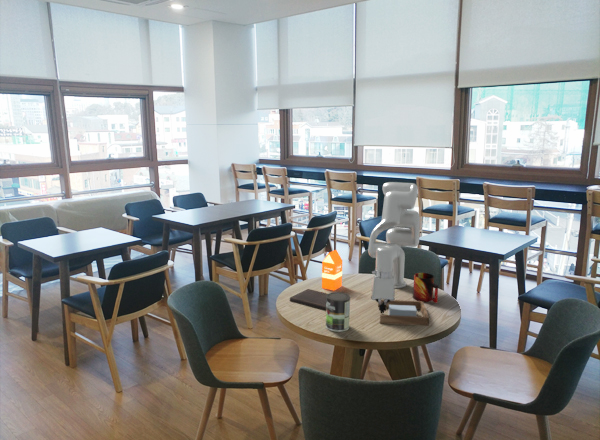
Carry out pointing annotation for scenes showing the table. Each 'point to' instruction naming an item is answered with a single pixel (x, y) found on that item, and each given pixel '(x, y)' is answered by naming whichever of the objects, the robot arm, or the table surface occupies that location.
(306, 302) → the hardcover book
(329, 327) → the coffee can
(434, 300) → the mug
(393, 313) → the tile
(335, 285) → the orange juice
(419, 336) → the table surface
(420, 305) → the frame
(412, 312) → the tile
